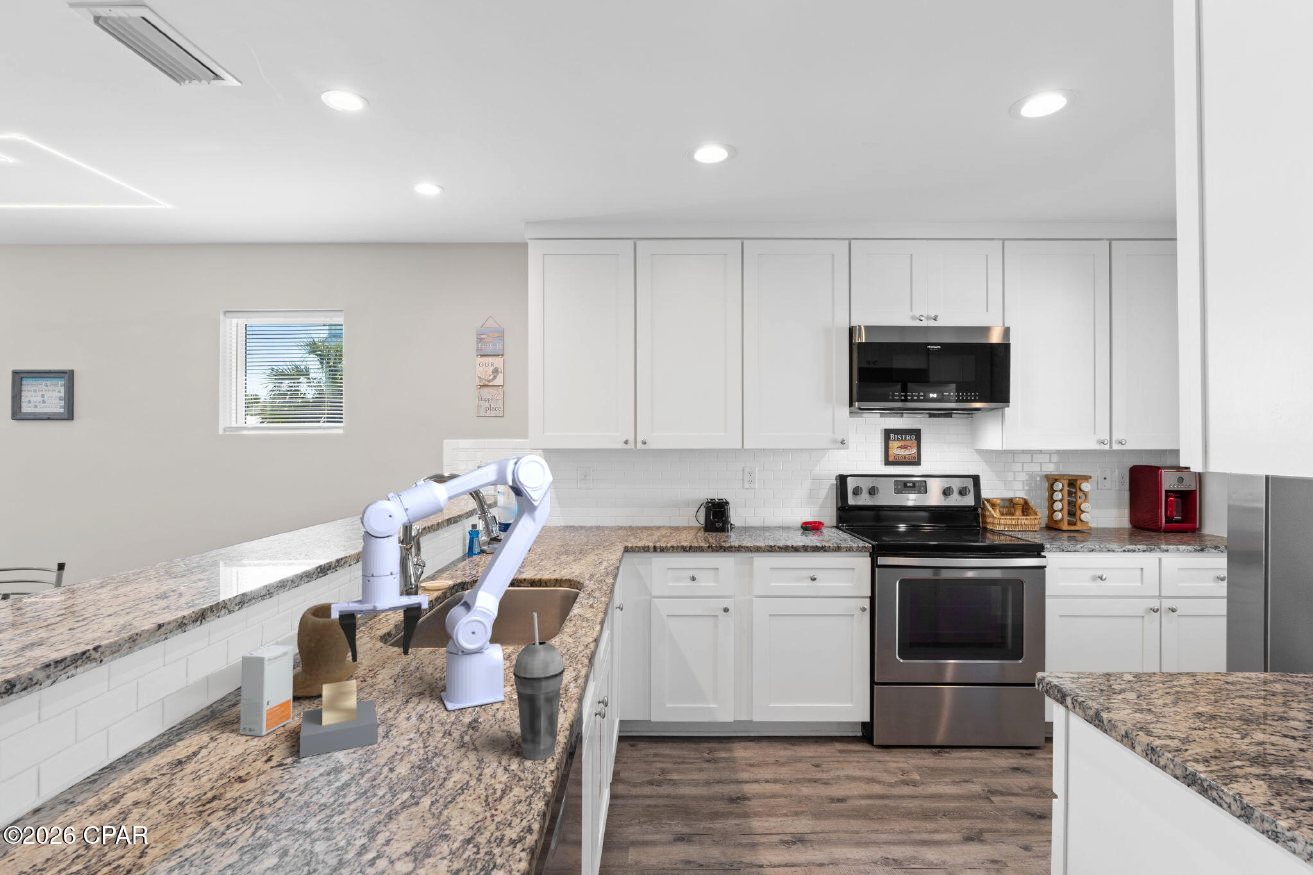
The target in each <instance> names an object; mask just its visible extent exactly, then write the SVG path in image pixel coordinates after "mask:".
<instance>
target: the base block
mask: <svg viewBox="0 0 1313 875" xmlns="http://www.w3.org/2000/svg"><path fill="white" fill-rule="evenodd" d="M375 704H376V703H375V700H374V699H370V700H364V701H359V702H357V701H356V720H351V721H345V722H340V723H334V724H328V725H323V726H322V707H320V708H315V709H310V710H304V711H303V710H302V717H301V718H302V719H301V723H300V724H301V726H300V732H299V759H303V758H302V757H304V758H306V757H305V756H309V757H311V756H310V755H314V754H320V755H322V754H321V753H325V754H327V753H326V752H330V753H332V752H331V751H335V752H338V751H337V750H340V751H343V750H342V749H345V750H350V749H355V748H360V747H364V746H365V747H366V746H370V745H375V744H379V743H378V741H379V738H378V736H379V732H378V731H379V729H378V728H379V726H378V725H379V722H378V721H379V720H378V716H377V709H376V705H375ZM314 756H315V755H314Z"/></svg>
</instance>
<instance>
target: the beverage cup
mask: <svg viewBox="0 0 1313 875" xmlns="http://www.w3.org/2000/svg"><path fill="white" fill-rule="evenodd" d="M537 617H538V615H537V612H532V618H533V635H534V641H533V642H531V643H527V645H525V646H524V647H523V648H522V649H521V650H520V651H519V653H518V655H517V656H516V659H515V663H514V668H513V672H512V675H513V677H514V678H513V680H514V685H515V688H516V693H517V705H518V716H519V717H518V718H519V730H520V741H521V746H522V749H521V750H522V756H523V757H524V758H525V759H526V760H530V761H541V760H547V759H549V758H551V757H553V756H554V755H555V754H556V745H557V738H558V737H557V736H558V728H559V726H558V725H559V714H560V713H559V712H560V703H561V702H560V700H561V688H562V685H563V680H564V673H565V665H564V659H563V657H562V656H563V655H562V654H561V652H560V650H559V649H558V648H557V647H556V646H555V645H553V644H552V643H551V642H548V641H545V640H539V631H538V618H537Z"/></svg>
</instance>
